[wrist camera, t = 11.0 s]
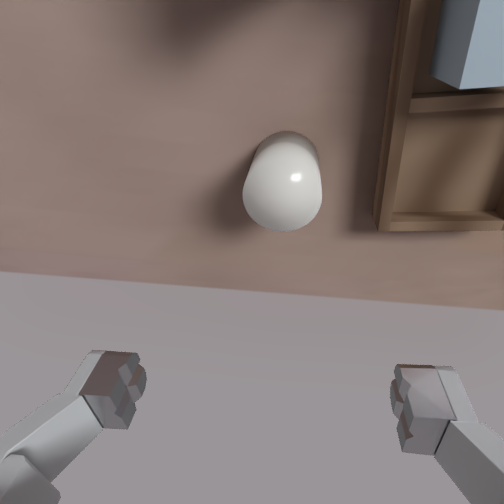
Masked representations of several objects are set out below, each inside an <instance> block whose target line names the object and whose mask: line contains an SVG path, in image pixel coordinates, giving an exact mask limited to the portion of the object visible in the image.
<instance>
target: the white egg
mask: <svg viewBox="0 0 504 504" xmlns="http://www.w3.org/2000/svg"><path fill="white" fill-rule="evenodd" d="M321 202H322V188H321V178H320V168H319V158H318V153H317V150H316V148H315V146H314V145H313V144H312V142H311V141H310V140H309V139H308V138H306V137H305V136H303V135H302V134H299V133H297V132H293V131H281V132H277V133H274V134H272V135H270V136H268V137H267V138H266V139H264V140H263V141H262V142H261V144H260V145H259V147H258V148H257V151H256V153H255V156H254V159H253V161H252V164H251V167H250V170H249V172H248V175H247V178H246V181H245V184H244V187H243V203H244V206H245V209H246V211H247V213H248V214H249V216H250V217H251V218H252V219H253V220H254V221H255V222H256V223H258V224H259V225H261V226H262V227H264V228H267V229H269V230H273V231H280V232H285V231H293V230H296V229H299V228H301V227H303V226H305V225H306V224H308V223H309V222H310V221H311V220H312V219H313V218H314V217H315V216H316V214H317V212H318V211H319V208H320V206H321Z"/></svg>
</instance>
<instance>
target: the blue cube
mask: <svg viewBox="0 0 504 504" xmlns="http://www.w3.org/2000/svg"><path fill="white" fill-rule="evenodd" d="M429 75H430V76H432V77H434V78H436V79H438V80H441V81H443V82H445V83H447V84H449V85H451V86H453V87H455V88H458V89H471V88H486V87H500V86H504V0H443V1H442V6H441V12H440V17H439V22H438V28H437V33H436V39H435V44H434V50H433V55H432V60H431V66H430V71H429Z"/></svg>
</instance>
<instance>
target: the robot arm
mask: <svg viewBox="0 0 504 504" xmlns="http://www.w3.org/2000/svg"><path fill="white" fill-rule="evenodd" d="M139 361H140V358H139V356H138V354H137V353H130V352H114V351H100V350H92V351H91V352H90V353H88V354H87V356H86V358H85V359H84V361H83V362H82V364H81V365H80V367H79V368H78V370H77V372H76V373H75V375H74V376H73V378H72V379H71V381H70V382H69V384H68V385H67V387H66V389H65V390H64V392H63V393H62V394H57V395H56V396H54V397H53V398H52V399H50V400H49V401H47V402H46V403H45V404H43V405H42V406H40V407H39V408H38V409H36V410H35V411H33V412H32V413H30V414H29V415H28V416H26V417H25V418H24V419H22V420H21V421H19V422H18V423H16V424H15V425H14V426H12V427H11V428H9V429H8V430H7V431H5V432H4V433H2V434H1V435H0V504H58V502H59V500H60V498H61V497H60V492H59V491H58V490H57V489H56V488H55V487H54V486H53V485H52V484H51V482H52V481H53V480H54V479H55V478H56V477H57V475H59V474H60V473H61V472H62V471H63V470H64V469H65V468H66V467H67V466H68V465H69V464H70V462H72V461H73V459H75V458H76V457H77V456H78V454H80V452H81V451H82V450H83V449H84V448H85V447H86V446H87V445H88V444H89V443H90V442H91V441H92V440H93V439H94V438H95V437H96V436H97V435H98V434H99V433H100V432H101V431H102V430H103V428H110V429H111V428H112V429H128V427H129V425H130V423H131V421H132V418H133V416H134V414H135V411H136V407H135V402H136V401H137V400H138V399H139V398H140V397H141V396H142V394H143V392H144V389H145V386H146V372H145V369H144V368H143V367H142V366H141V365H139V364H138V363H139ZM394 374H395V378H396V379H394V380H393V381H392V382H391V388H390V398H391V405H392V410H393V413H394V415H395V416H396V417H397V418H398V419H399V422H398V425H397V432H398V436H399V441H400V445H401V449H402V452H406V453H415V454H424V455H433V456H434V458H435V459H436V460H437V462H438V463H439V464H440V465H441V466H442V468H443V469H444V470H445V472H446V473H447V474H448V475H449V477H450V478H451V479H452V480H453V482H454V483H455V484H456V485H457V487H458V488H459V489H460V491H461V492H462V493H463V494H464V496H465V497H466V498H467V500H468V501H469V502H470V503H471V504H504V440H503V439H502V438H501V437H500V436H499V435H498V434H497V433H495V431H493V430H492V429H491V428H490V427H489V426H488V425H486V423H481V422H478V419H477V417H476V415H475V413H474V410H473V408H472V406H471V403H470V401H469V399H468V396H467V394H466V392H465V390H464V387H463V385H462V383H461V381H460V378H459V376H458V374H457V372H456V370H455V369H454V368H453V367H451V366H450V367H449V366H432V365H407V364H397V365H396V366H395V370H394Z"/></svg>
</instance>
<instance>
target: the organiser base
mask: <svg viewBox="0 0 504 504" xmlns="http://www.w3.org/2000/svg"><path fill="white" fill-rule="evenodd" d="M442 1H443V0H400V1H399V9H398V17H397V24H396V32H395V40H394V48H393V56H392V64H391V72H390V79H389V87H388V95H387V103H386V111H385V119H384V126H383V134H382V142H381V150H380V158H379V166H378V174H377V181H376V189H375V197H374V205H373V213H372V215H373V218H374V221H375V224H376V227H377V230H378V231H493V230H504V86H500V87H486V88H471V89H458V88H455V87H453V86H451V85H449V84H447V83H445V82H443V81H441V80H438V79H436V78H434V77H432V76H430V75H429V71H430V66H431V60H432V55H433V50H434V44H435V39H436V33H437V28H438V22H439V17H440V12H441V6H442Z"/></svg>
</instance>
